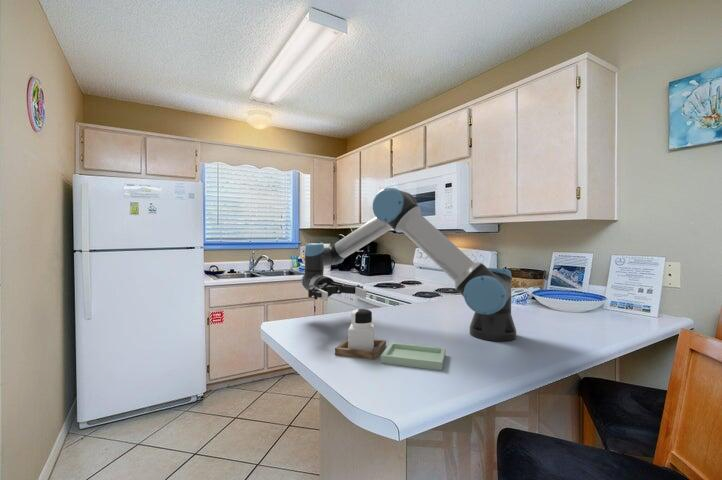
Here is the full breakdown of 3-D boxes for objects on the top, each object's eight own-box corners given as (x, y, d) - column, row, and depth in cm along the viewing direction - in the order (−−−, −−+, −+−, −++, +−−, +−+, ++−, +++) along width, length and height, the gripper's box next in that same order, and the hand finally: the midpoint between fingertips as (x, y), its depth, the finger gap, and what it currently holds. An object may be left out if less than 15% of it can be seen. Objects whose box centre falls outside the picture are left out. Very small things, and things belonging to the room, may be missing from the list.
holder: (385, 346, 107) (385, 340, 107) (375, 359, 95) (375, 352, 95) (349, 342, 110) (349, 336, 110) (334, 354, 99) (335, 348, 99)
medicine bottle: (374, 347, 106) (374, 307, 106) (372, 355, 99) (372, 313, 99) (350, 346, 107) (351, 307, 107) (347, 354, 100) (348, 312, 100)
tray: (445, 354, 99) (445, 348, 99) (442, 370, 88) (442, 362, 88) (390, 349, 104) (390, 342, 104) (380, 362, 93) (380, 355, 93)
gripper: (352, 293, 136) (379, 304, 117) (289, 298, 125) (309, 310, 106) (352, 274, 136) (380, 281, 117) (290, 277, 125) (309, 285, 106)
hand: (346, 295), depth 112 cm, fingers open, 13 cm apart
